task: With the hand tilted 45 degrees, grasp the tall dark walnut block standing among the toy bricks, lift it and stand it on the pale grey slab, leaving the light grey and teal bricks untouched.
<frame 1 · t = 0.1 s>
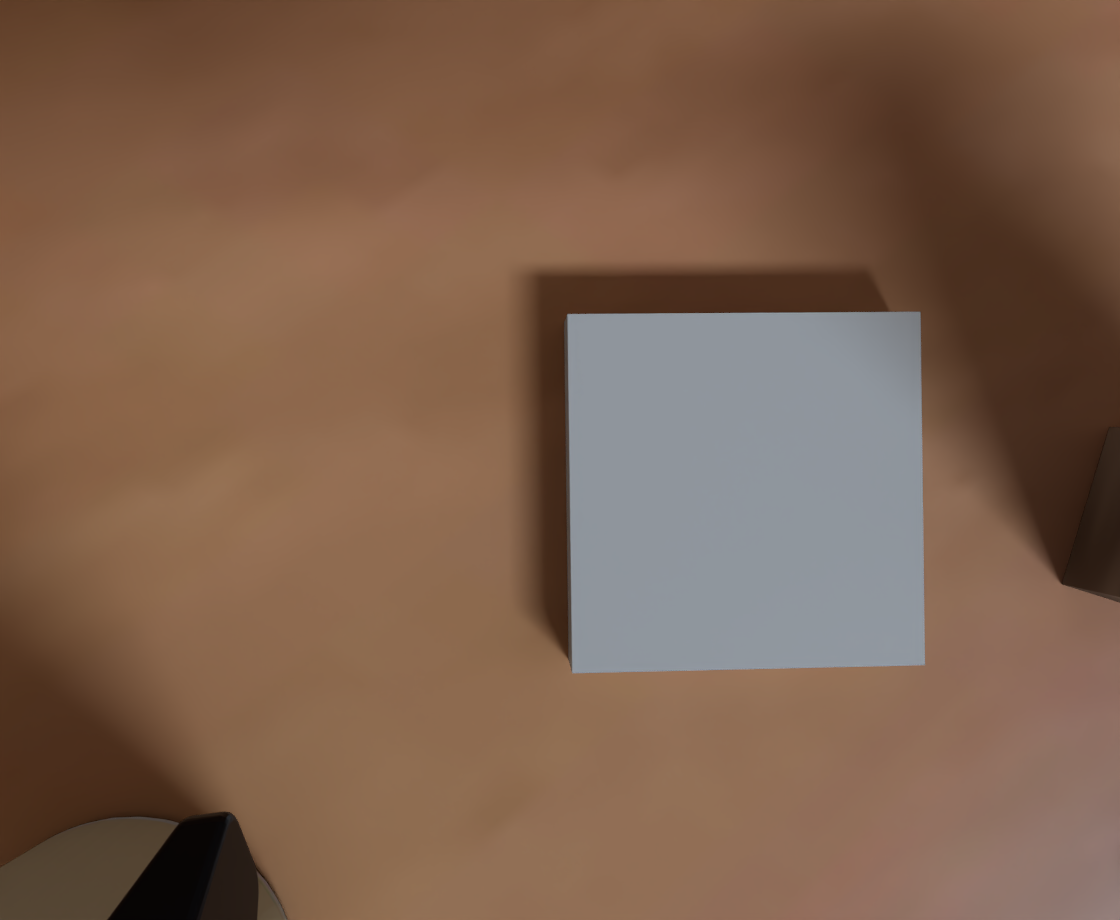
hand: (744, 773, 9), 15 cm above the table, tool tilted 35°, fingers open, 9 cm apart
grey slab: (728, 488, 24), on the table
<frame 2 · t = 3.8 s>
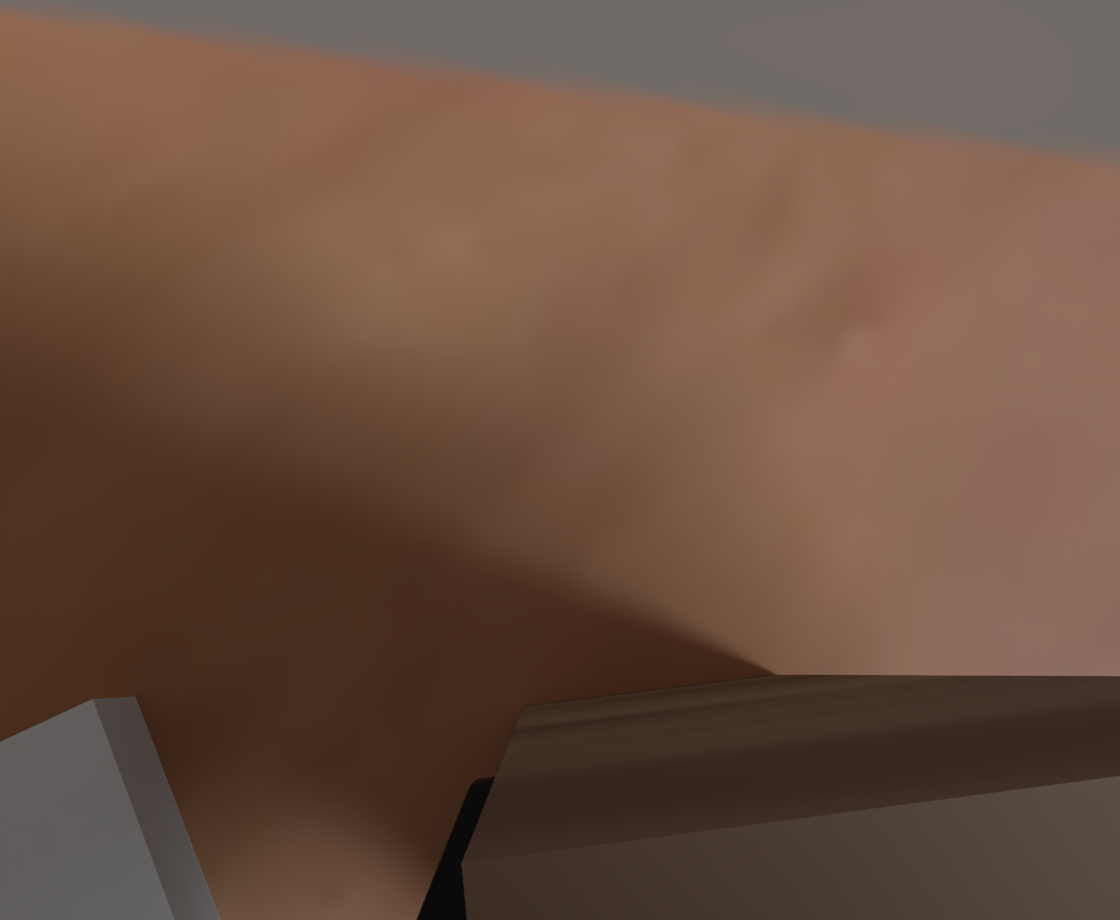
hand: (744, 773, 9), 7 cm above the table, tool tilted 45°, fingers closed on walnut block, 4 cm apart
walnut block: (669, 825, 15), on the table, touching gripper
when the fingers open (9 cm above the table, at t = 6.5 s): walnut block drops 2 cm, resting on grey slab.
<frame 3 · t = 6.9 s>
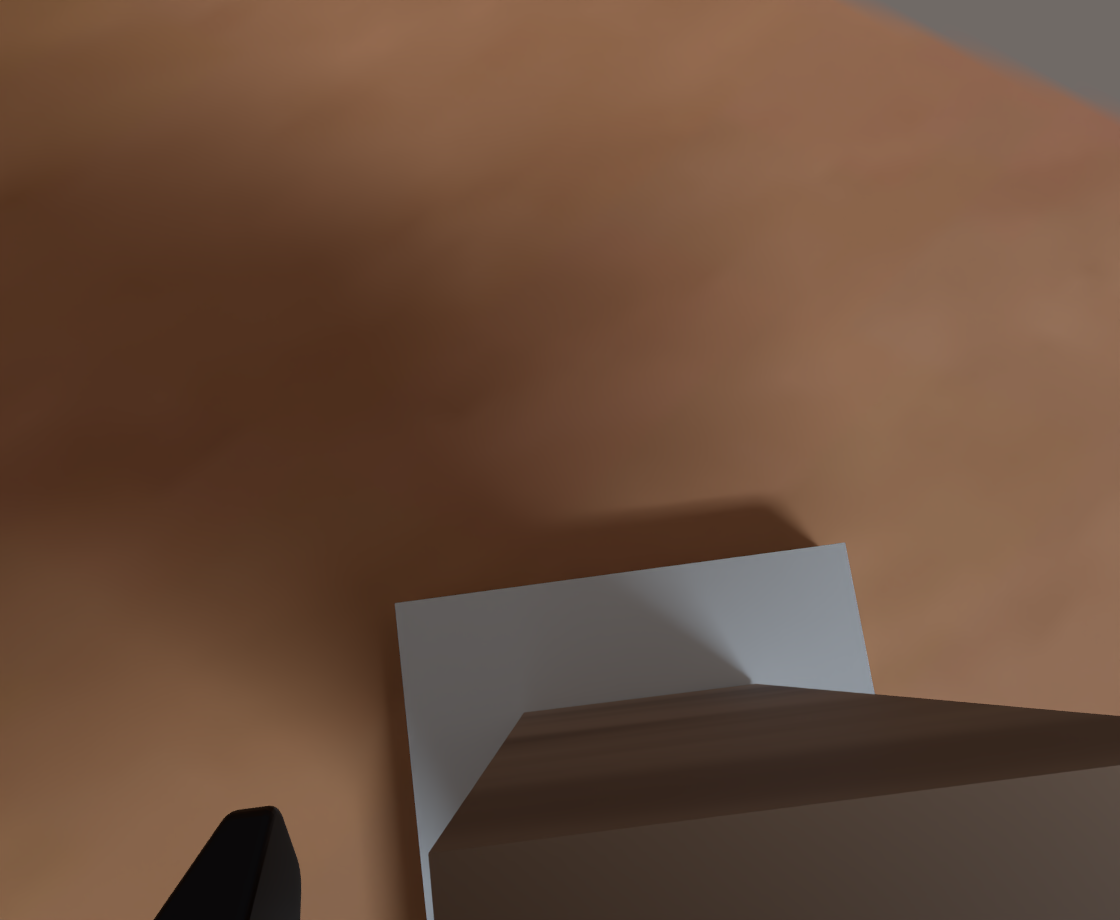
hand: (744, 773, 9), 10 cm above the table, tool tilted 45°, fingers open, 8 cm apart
grey slab: (644, 795, 19), on the table, touching walnut block
walnut block: (656, 820, 17), point 1 cm above the table, touching grey slab
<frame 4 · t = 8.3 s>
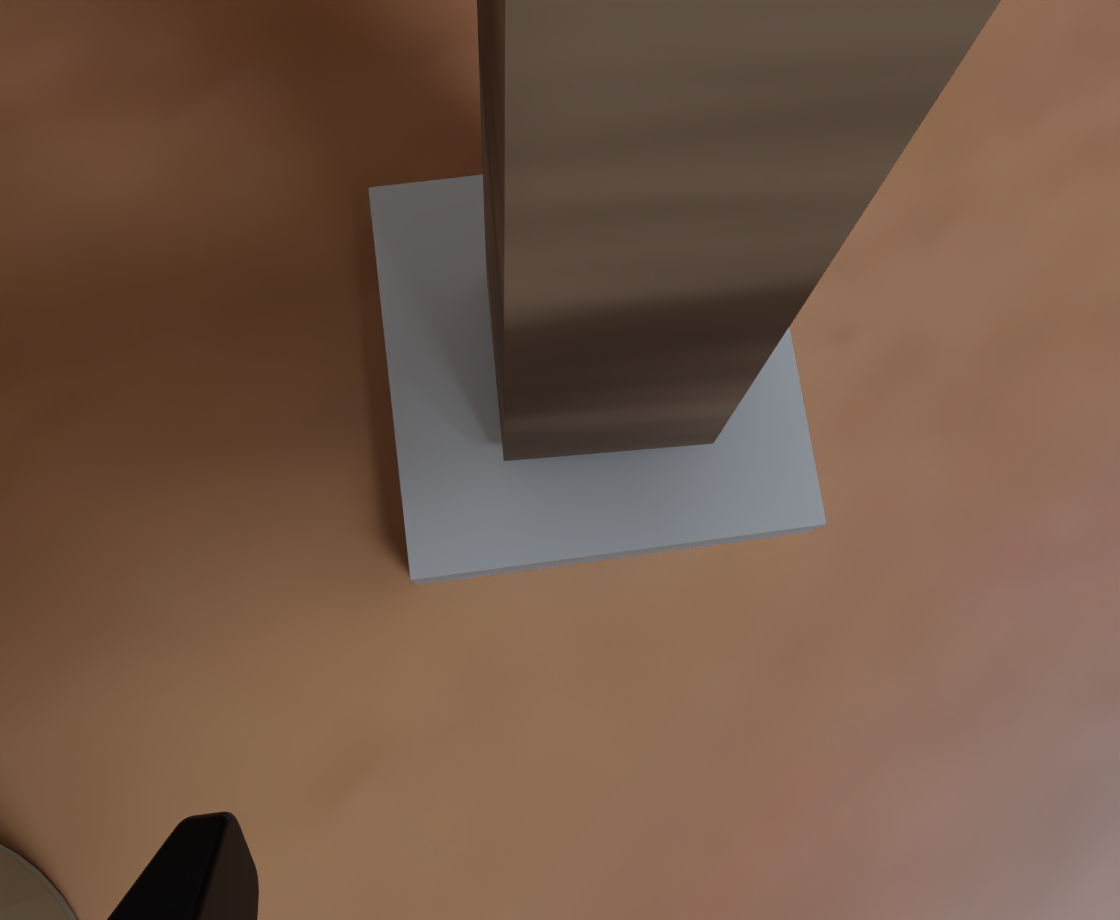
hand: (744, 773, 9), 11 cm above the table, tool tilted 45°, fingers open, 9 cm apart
grey slab: (585, 378, 22), on the table, touching walnut block
walnut block: (597, 354, 19), point 2 cm above the table, tilted 6°, touching grey slab
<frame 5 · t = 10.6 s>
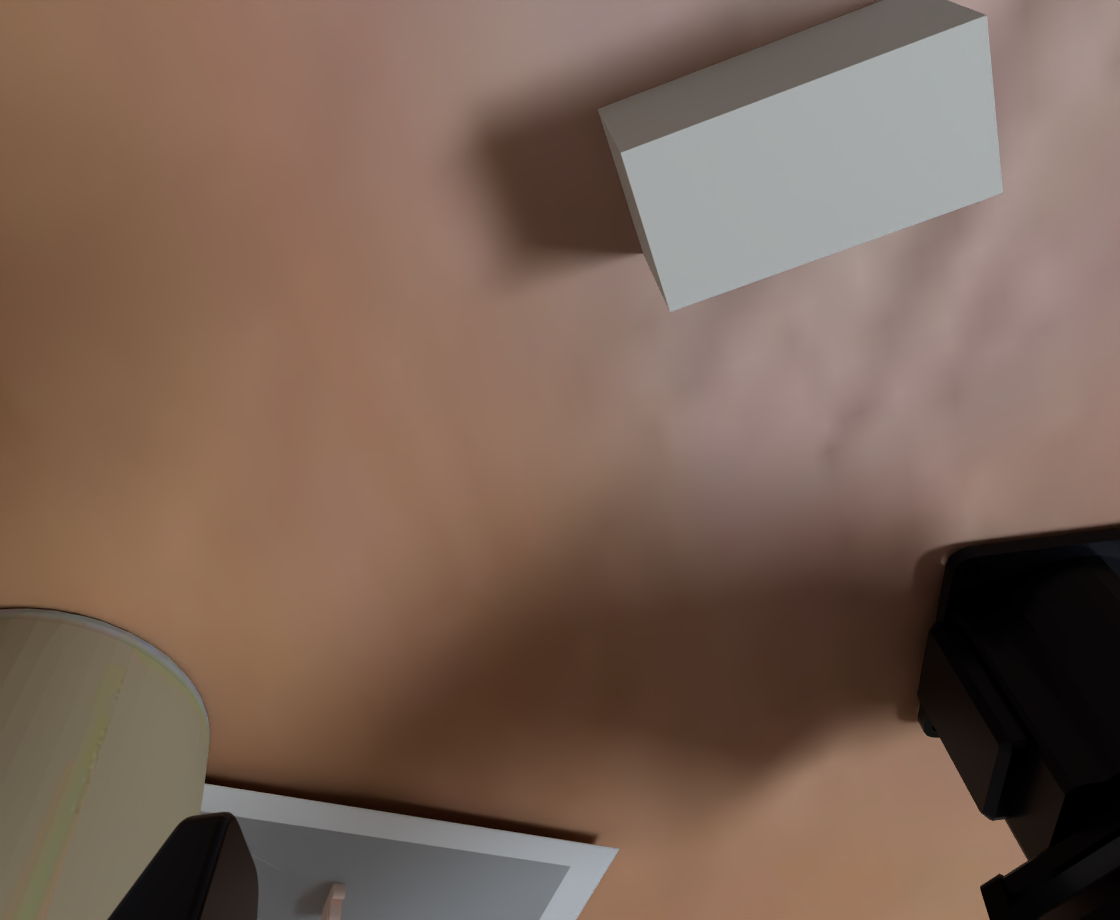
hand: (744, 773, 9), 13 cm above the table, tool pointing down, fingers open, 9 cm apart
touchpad: (337, 857, 30), on the table
coffee cup: (55, 715, 25), on the table
light grey brick: (768, 125, 19), on the table
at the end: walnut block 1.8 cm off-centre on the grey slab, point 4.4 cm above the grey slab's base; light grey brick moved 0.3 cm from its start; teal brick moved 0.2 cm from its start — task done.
